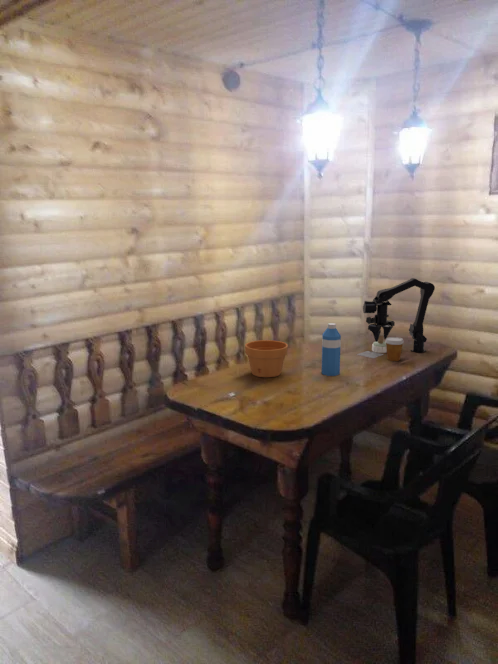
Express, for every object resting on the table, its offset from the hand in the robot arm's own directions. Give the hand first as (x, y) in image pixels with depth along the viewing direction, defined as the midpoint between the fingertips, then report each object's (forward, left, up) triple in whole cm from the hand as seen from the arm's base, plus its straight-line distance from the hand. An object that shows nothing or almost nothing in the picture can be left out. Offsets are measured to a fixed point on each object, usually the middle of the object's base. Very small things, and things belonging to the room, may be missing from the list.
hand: (380, 340), depth 314 cm
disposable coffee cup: (+11, +15, -7) cm, 20 cm away
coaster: (+11, 0, -7) cm, 13 cm away
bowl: (0, 0, -7) cm, 7 cm away
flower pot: (+74, -19, -7) cm, 77 cm away
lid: (0, 0, -3) cm, 3 cm away
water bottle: (+52, +4, -7) cm, 53 cm away
